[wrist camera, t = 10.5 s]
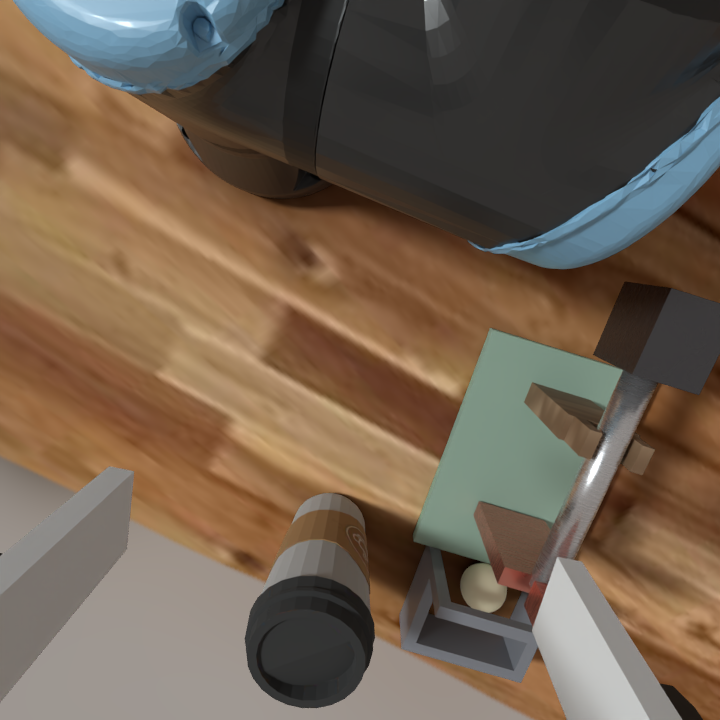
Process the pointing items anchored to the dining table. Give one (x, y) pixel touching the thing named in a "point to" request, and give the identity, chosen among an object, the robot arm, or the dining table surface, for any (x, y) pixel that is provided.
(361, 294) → the dining table surface
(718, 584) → the dining table surface
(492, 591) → the ball
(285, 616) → the coffee cup
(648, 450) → the foosball player figure
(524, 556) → the stand
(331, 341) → the dining table surface
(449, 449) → the mat
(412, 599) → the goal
